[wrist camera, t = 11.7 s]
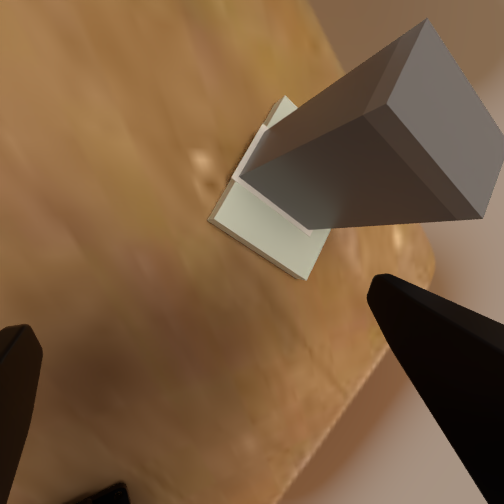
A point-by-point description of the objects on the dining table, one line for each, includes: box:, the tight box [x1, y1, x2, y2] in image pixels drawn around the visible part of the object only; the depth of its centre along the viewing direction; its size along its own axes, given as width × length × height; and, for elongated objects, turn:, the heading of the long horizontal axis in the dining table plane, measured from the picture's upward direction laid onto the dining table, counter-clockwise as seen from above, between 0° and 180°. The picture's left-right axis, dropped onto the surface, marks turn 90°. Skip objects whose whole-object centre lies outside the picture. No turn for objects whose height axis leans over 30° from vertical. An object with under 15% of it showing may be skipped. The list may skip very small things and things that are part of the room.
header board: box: [207, 96, 331, 280], centre depth 22 cm, size 11×9×4 cm
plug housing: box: [239, 18, 504, 230], centre depth 17 cm, size 4×7×12 cm, turn 59°
